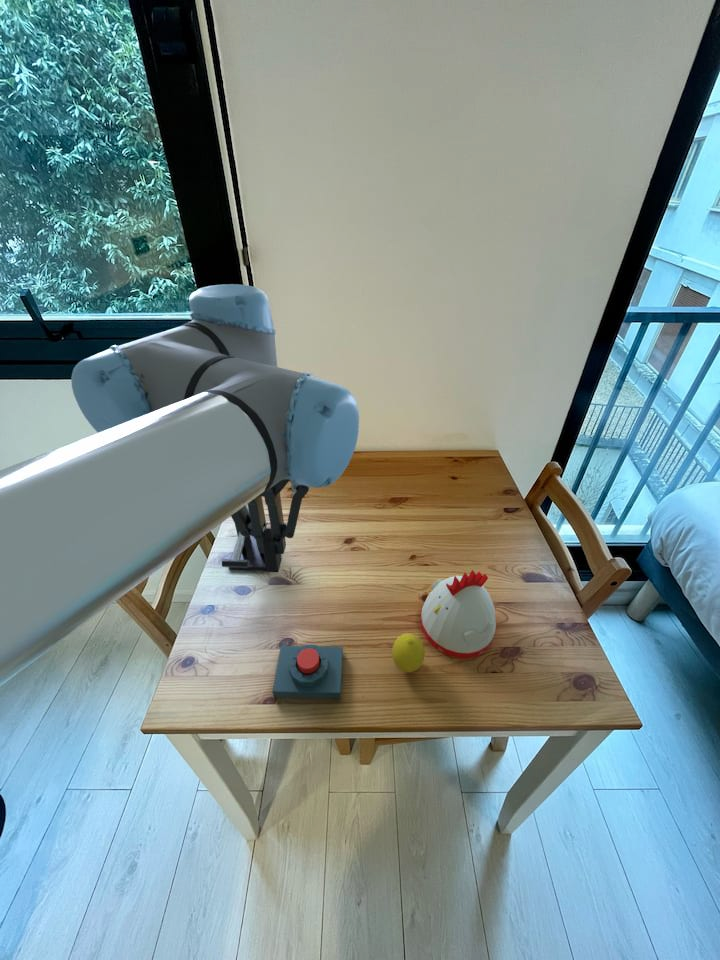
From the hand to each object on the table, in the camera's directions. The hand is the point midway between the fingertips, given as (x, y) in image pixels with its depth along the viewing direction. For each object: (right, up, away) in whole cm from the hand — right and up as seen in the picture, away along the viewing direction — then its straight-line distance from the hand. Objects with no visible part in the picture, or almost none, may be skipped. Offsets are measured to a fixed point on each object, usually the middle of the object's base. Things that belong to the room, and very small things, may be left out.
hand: (275, 565), depth 62 cm
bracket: (-11, -3, +31) cm, 33 cm away
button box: (+4, -21, +9) cm, 23 cm away
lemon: (+21, -20, +10) cm, 31 cm away
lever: (-11, +1, +22) cm, 24 cm away
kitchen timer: (+32, -15, +17) cm, 39 cm away
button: (+4, -18, +6) cm, 19 cm away
